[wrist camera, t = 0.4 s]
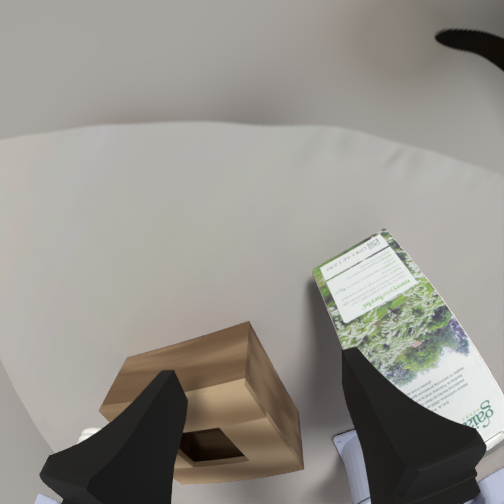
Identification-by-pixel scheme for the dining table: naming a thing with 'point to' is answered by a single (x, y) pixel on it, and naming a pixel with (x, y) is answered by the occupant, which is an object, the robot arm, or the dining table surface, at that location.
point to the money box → (221, 407)
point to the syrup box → (409, 333)
